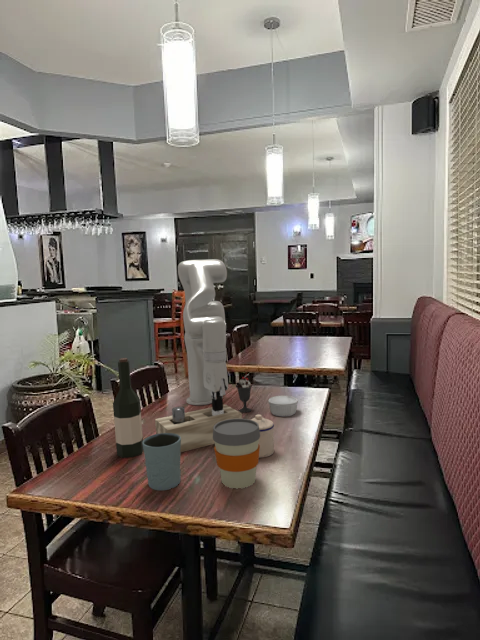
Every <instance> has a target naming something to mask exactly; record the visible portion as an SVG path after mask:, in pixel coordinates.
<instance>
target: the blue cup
mask: <svg viewBox="0 0 480 640" xmlns="http://www.w3.org/2000/svg"><path fill="white" fill-rule="evenodd" d="M142 444H143V453H144V459H145V467H146V468H145V471H146V475H147V483H148V486H149V488H150V489H152V490H154V491H167V490H171V488H172V489H174V488H176V487H178V486H179V485H178V484H180V483H181V478H182V477H181V474H182V473H181V472H182V471H181V454H182V452H180V448H181V437H180V436H179V435H177V434H173V433H160V434H156V433H155V434H152V435H149V436H147V437H146V438H144V439H143V442H142Z"/></svg>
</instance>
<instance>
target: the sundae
mask: <svg viewBox="0 0 480 640" xmlns="http://www.w3.org/2000/svg"><path fill="white" fill-rule="evenodd" d="M252 387H253V384H251V381H249V378H248V372H245V375H244V376H242V377H241V378H240V379H239V380H238V381H237V382H236V385H235V388H236V389H237V393H238V398H239V400H240V401H241V402H242V404H243V407H242V408H240V409H238V412H240V413H242V414H243V413H250V412H251V411H252V409H251V408H249V407H248V406H247V402H248V401H249V400H250V398H251V391H252V390H251V389H252Z"/></svg>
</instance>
